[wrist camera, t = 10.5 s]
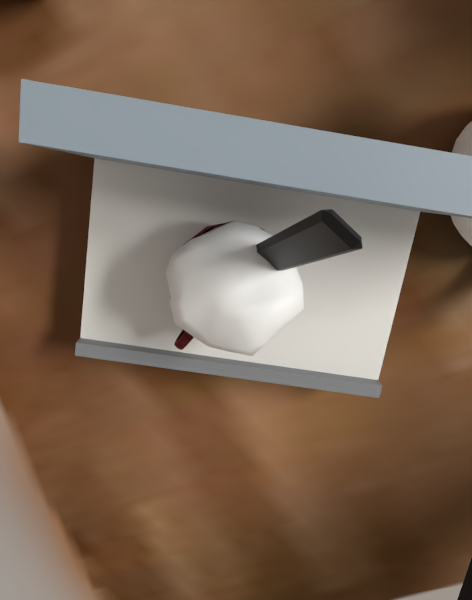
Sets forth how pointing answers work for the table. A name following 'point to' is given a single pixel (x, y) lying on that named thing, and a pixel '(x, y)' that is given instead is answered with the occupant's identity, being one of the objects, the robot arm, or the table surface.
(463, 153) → the cat figurine
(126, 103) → the cleat board
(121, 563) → the table surface
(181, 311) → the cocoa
